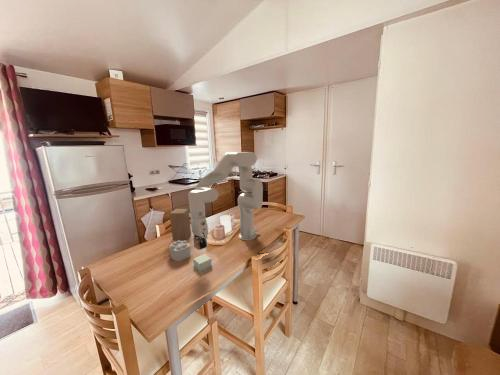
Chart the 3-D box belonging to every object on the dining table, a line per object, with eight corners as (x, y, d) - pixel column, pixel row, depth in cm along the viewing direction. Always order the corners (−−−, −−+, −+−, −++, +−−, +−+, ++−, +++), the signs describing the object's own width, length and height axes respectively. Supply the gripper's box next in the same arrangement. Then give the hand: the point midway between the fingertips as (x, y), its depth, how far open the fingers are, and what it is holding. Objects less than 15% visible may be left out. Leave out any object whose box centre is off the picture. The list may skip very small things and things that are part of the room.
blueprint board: (210, 253, 123) (210, 252, 123) (224, 263, 113) (224, 262, 113) (186, 265, 113) (185, 263, 113) (198, 276, 103) (198, 275, 103)
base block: (205, 260, 116) (204, 253, 115) (211, 265, 111) (211, 258, 110) (193, 265, 111) (193, 258, 110) (200, 270, 106) (199, 264, 105)
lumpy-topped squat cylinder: (177, 263, 115) (175, 249, 113) (167, 255, 124) (165, 242, 122) (193, 256, 122) (192, 243, 120) (182, 249, 131) (181, 236, 129)
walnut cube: (202, 243, 112) (201, 235, 111) (207, 246, 108) (206, 238, 107) (194, 246, 109) (193, 238, 108) (198, 250, 105) (197, 241, 104)
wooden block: (191, 233, 153) (188, 208, 148) (186, 240, 143) (182, 213, 139) (178, 233, 154) (175, 208, 149) (172, 239, 144) (169, 213, 140)
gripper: (212, 216, 101) (215, 249, 105) (196, 208, 113) (199, 238, 117) (199, 220, 96) (202, 254, 100) (183, 212, 108) (186, 243, 112)
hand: (200, 245), depth 108 cm, fingers closed on walnut cube, 5 cm apart
